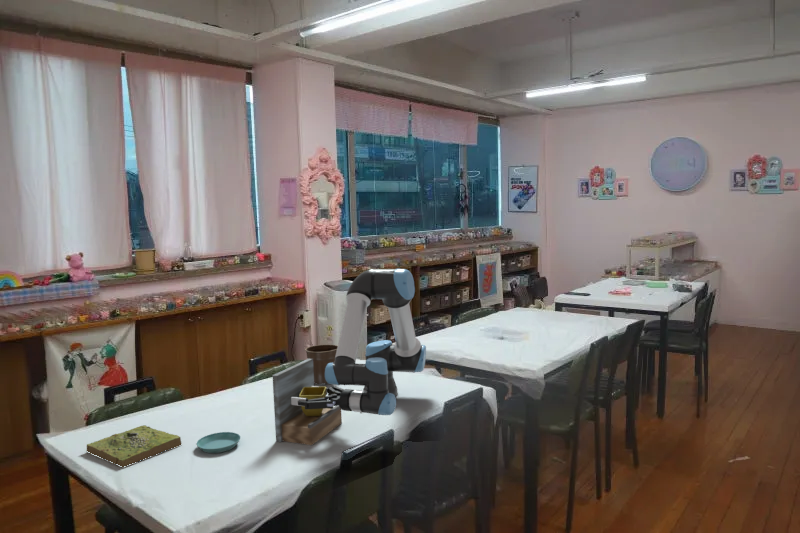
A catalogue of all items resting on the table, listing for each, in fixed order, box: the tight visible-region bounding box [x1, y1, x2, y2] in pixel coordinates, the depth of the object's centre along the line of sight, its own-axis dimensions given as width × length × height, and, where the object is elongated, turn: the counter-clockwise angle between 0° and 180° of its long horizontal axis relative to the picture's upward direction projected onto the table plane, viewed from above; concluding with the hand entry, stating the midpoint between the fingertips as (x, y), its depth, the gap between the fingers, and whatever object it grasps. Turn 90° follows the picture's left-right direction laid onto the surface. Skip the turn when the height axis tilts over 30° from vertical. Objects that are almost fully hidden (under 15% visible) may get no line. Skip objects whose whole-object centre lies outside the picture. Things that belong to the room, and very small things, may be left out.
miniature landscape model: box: [86, 425, 182, 467], centre depth 204 cm, size 22×24×5 cm
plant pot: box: [304, 344, 338, 385], centre depth 278 cm, size 16×16×16 cm
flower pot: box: [299, 386, 327, 416], centre depth 215 cm, size 9×9×9 cm
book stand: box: [271, 358, 343, 446], centre depth 214 cm, size 14×24×24 cm, turn 157°
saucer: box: [195, 431, 241, 454], centre depth 203 cm, size 15×15×3 cm
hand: (301, 395), depth 215 cm, fingers open, 13 cm apart
